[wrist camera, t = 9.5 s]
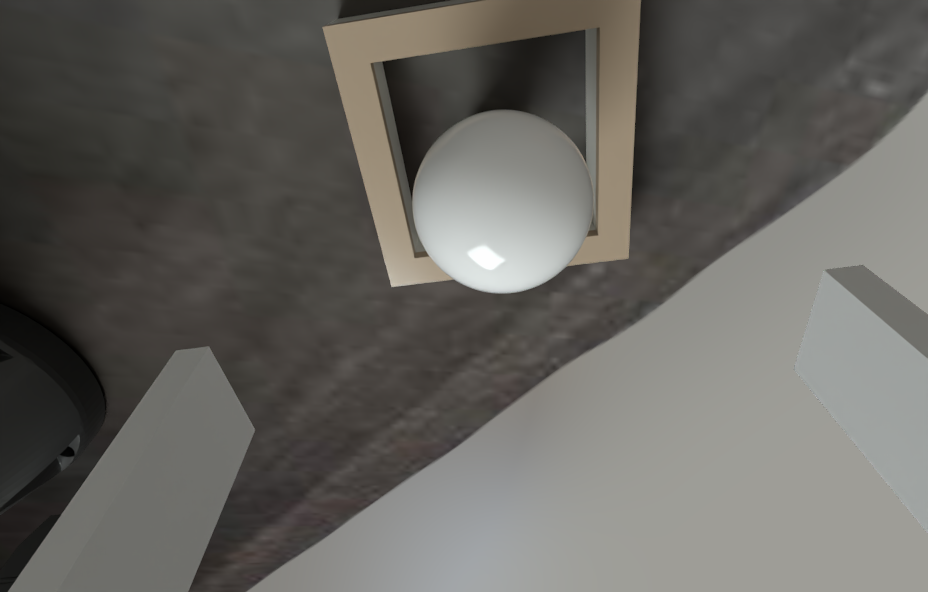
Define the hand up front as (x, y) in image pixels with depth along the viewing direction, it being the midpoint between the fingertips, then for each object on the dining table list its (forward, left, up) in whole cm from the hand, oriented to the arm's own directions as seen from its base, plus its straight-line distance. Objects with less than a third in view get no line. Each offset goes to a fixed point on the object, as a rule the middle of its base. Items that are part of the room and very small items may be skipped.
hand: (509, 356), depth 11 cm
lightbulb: (0, 0, -16) cm, 16 cm away
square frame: (0, 0, -16) cm, 16 cm away
